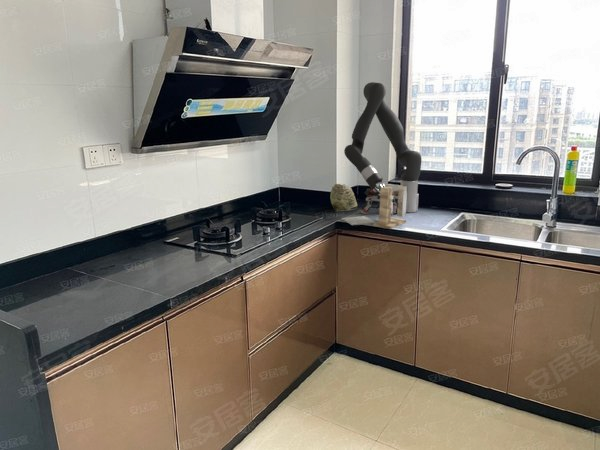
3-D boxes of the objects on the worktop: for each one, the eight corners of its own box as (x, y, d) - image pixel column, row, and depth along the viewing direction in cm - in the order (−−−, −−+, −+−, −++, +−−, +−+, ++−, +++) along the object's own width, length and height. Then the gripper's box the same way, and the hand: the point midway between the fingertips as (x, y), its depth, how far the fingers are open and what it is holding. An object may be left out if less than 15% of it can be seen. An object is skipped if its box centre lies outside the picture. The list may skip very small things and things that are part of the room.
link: (384, 213, 224) (385, 184, 220) (387, 212, 227) (388, 183, 223) (402, 216, 218) (403, 186, 214) (405, 215, 220) (407, 185, 217)
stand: (390, 219, 229) (392, 182, 224) (406, 222, 223) (408, 184, 219) (373, 226, 216) (374, 187, 211) (389, 229, 211) (391, 189, 206)
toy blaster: (398, 220, 240) (404, 193, 237) (360, 213, 240) (366, 186, 236) (396, 218, 244) (403, 192, 240) (359, 211, 243) (365, 185, 240)
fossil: (327, 210, 248) (327, 184, 244) (347, 205, 261) (348, 180, 257) (339, 213, 242) (340, 186, 238) (359, 208, 255) (360, 182, 251)
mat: (364, 217, 234) (364, 216, 233) (375, 223, 222) (376, 221, 221) (341, 219, 230) (341, 218, 229) (352, 225, 218) (352, 224, 217)
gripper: (369, 173, 219) (390, 200, 214) (383, 170, 229) (403, 196, 225) (359, 182, 223) (379, 209, 219) (373, 179, 234) (393, 205, 230)
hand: (391, 202), depth 222 cm, fingers closed on link, 3 cm apart
